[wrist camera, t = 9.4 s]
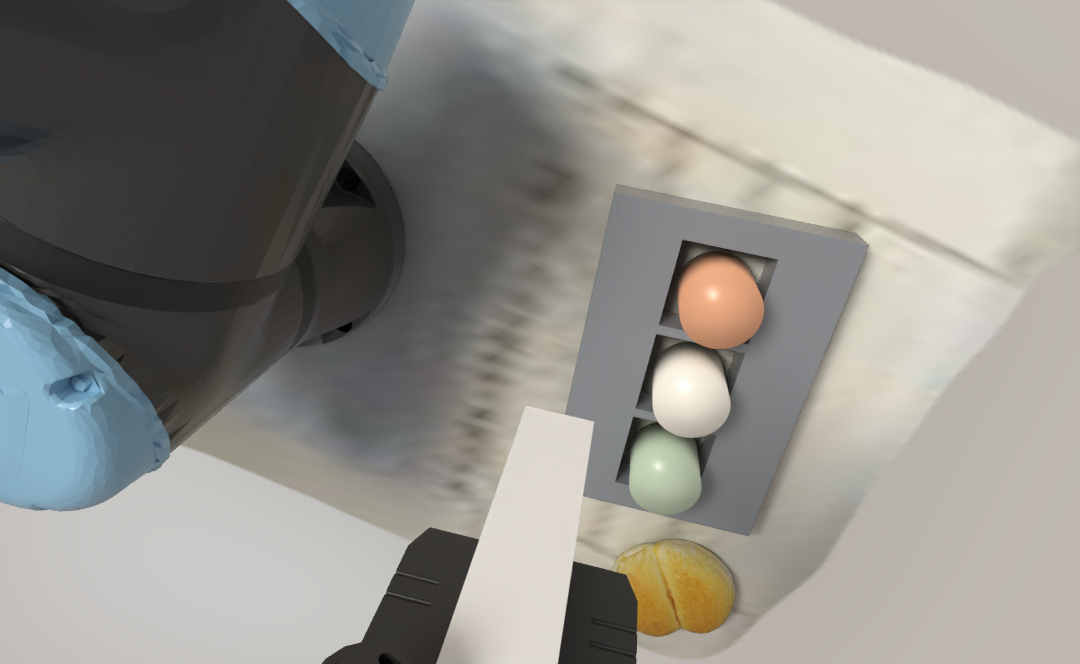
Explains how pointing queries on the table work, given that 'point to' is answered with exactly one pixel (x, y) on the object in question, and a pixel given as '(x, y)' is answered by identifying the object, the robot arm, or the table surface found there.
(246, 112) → the robot arm
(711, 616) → the bread roll
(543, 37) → the table surface
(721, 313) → the brown egg
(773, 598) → the table surface
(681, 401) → the cream button
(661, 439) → the pale green rounded dome
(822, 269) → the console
